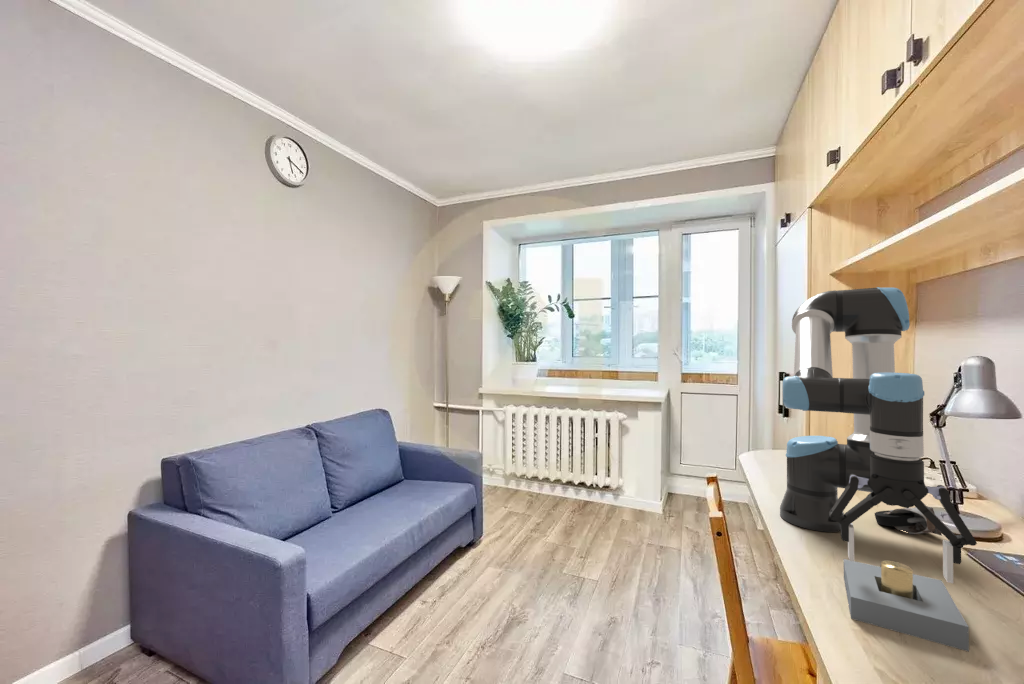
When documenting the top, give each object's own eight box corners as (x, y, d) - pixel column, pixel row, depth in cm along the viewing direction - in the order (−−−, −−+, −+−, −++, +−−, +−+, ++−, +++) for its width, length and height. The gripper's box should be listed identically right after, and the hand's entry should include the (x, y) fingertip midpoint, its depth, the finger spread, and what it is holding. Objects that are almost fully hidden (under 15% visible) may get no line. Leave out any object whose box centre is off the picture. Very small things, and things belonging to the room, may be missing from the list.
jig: (843, 577, 91) (843, 558, 91) (941, 601, 82) (941, 580, 82) (850, 618, 77) (850, 596, 77) (968, 651, 69) (968, 626, 69)
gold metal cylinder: (879, 599, 83) (879, 558, 83) (910, 606, 81) (909, 564, 81) (883, 611, 79) (883, 568, 79) (915, 619, 77) (915, 575, 77)
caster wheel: (872, 529, 119) (913, 526, 117) (899, 539, 108) (944, 535, 106) (865, 504, 120) (905, 500, 119) (891, 511, 110) (935, 507, 108)
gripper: (815, 450, 84) (816, 558, 84) (1001, 471, 70) (1003, 600, 70) (814, 443, 90) (815, 543, 90) (985, 460, 76) (986, 579, 76)
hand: (897, 568), depth 80 cm, fingers open, 13 cm apart
